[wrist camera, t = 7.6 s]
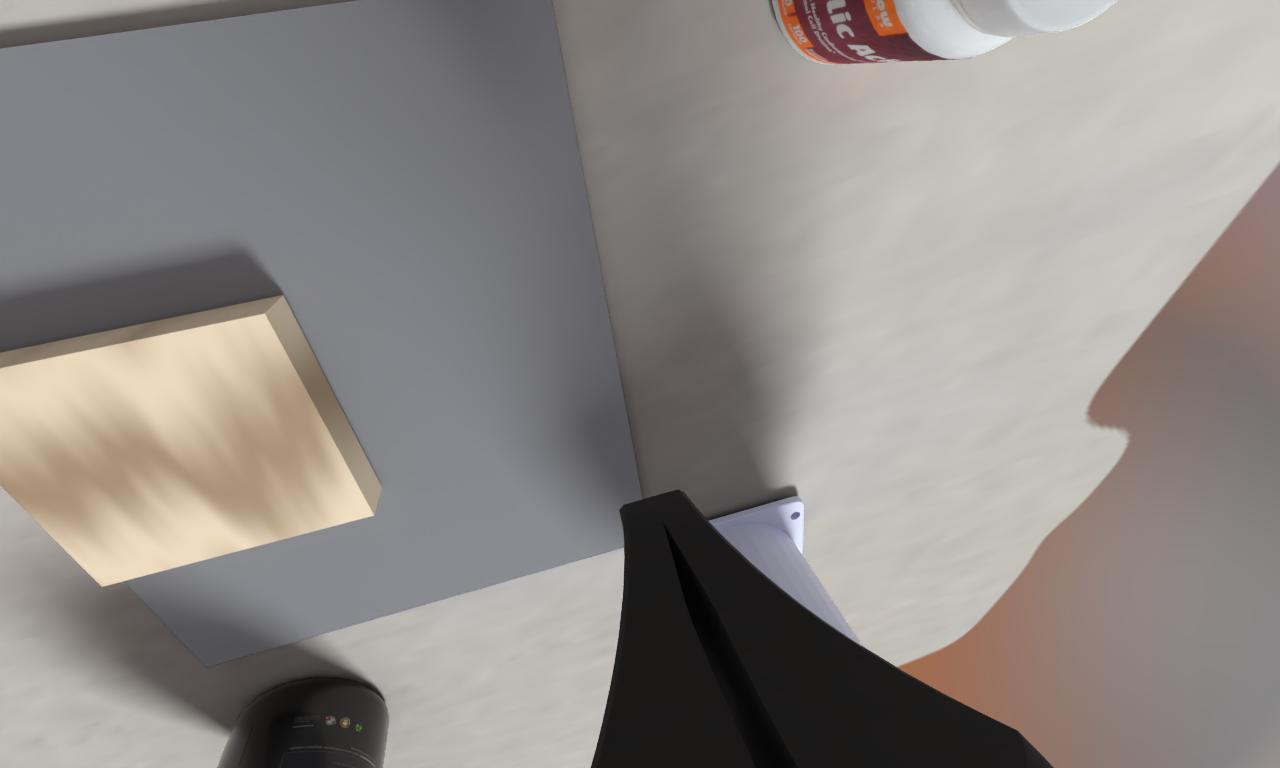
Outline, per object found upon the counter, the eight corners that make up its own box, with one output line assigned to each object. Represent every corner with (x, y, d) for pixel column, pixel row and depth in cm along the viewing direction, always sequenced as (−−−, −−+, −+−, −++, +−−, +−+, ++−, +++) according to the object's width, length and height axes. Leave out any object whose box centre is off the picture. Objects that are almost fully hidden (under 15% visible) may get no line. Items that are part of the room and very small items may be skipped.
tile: (374, 515, 19) (101, 586, 18) (382, 484, 21) (131, 548, 20) (264, 313, 15) (-97, 388, 14) (284, 293, 17) (-40, 359, 16)
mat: (648, 534, 26) (650, 540, 26) (210, 659, 23) (206, 667, 23) (545, -23, 15) (546, -26, 15) (-320, 94, 12) (-342, 95, 12)
